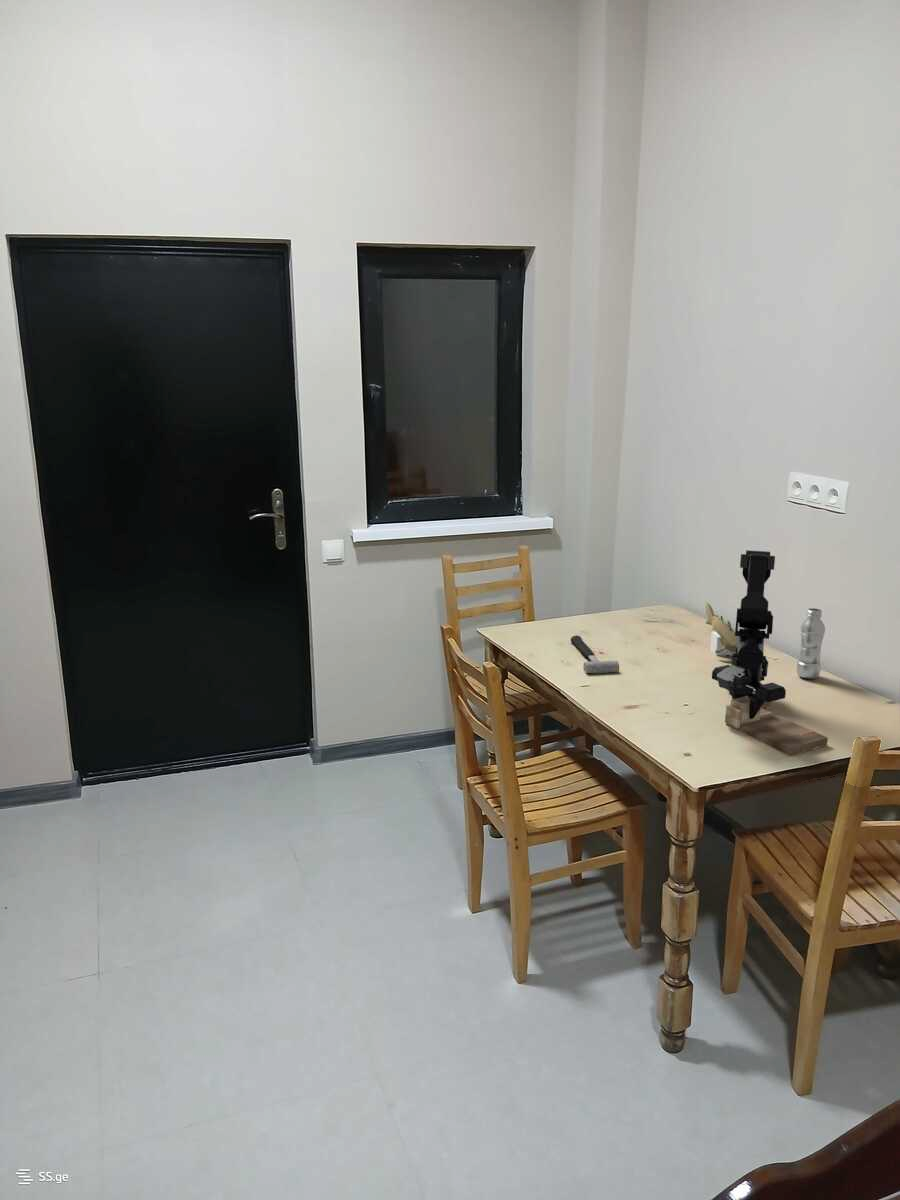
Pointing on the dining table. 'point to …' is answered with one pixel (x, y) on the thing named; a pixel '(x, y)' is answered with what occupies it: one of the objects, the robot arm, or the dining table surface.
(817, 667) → the plastic bottle
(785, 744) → the walnut board
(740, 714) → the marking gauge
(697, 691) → the dining table surface
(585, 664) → the rubber mallet
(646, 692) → the dining table surface
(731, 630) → the wood carving
